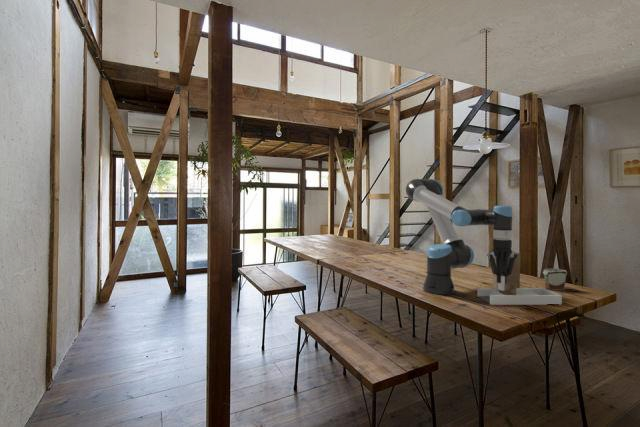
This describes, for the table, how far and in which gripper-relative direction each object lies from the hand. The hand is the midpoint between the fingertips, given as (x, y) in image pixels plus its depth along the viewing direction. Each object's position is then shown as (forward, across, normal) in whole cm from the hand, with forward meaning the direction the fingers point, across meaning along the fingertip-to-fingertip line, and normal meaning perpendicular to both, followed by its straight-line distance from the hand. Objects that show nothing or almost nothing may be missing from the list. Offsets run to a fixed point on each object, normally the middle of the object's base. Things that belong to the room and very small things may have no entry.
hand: (501, 289), depth 148 cm
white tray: (+5, +8, +1) cm, 10 cm away
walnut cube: (+2, +3, 0) cm, 4 cm away
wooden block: (+5, +13, +19) cm, 23 cm away
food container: (+5, +39, +21) cm, 45 cm away
